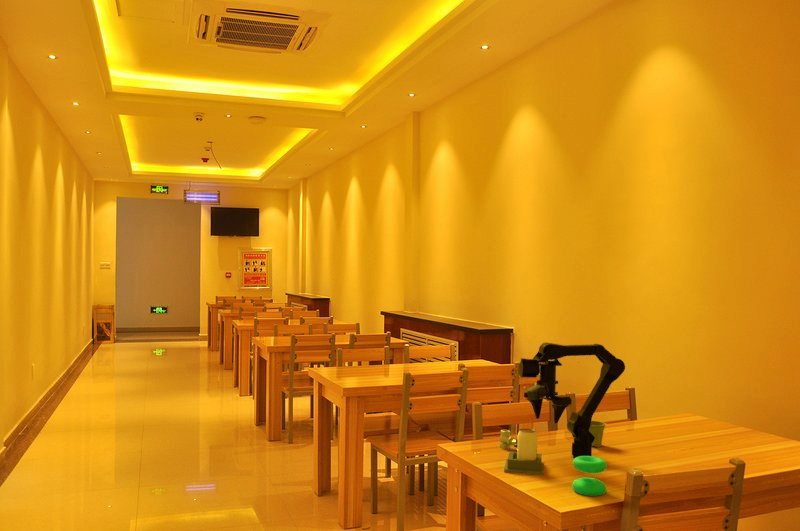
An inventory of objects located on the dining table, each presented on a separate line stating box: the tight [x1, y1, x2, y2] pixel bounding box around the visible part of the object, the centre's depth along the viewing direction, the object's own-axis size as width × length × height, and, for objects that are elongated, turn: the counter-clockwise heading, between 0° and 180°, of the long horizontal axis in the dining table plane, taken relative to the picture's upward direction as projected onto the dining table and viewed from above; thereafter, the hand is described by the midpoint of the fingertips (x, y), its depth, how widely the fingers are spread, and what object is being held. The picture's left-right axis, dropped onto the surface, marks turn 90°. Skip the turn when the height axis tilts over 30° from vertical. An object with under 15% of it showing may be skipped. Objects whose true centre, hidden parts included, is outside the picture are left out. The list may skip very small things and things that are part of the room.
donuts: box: [571, 455, 608, 497], centre depth 211 cm, size 10×10×10 cm
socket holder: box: [503, 451, 545, 476], centre depth 234 cm, size 13×13×4 cm
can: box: [516, 427, 538, 461], centre depth 234 cm, size 6×6×12 cm
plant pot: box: [589, 420, 607, 448], centre depth 270 cm, size 9×9×9 cm
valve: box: [499, 429, 518, 452], centre depth 259 cm, size 7×7×12 cm
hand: (546, 420), depth 251 cm, fingers open, 9 cm apart
